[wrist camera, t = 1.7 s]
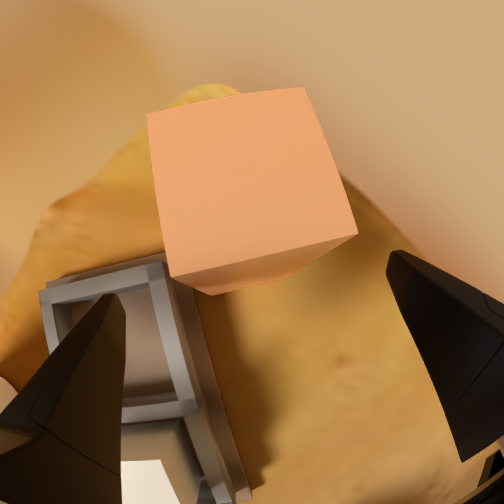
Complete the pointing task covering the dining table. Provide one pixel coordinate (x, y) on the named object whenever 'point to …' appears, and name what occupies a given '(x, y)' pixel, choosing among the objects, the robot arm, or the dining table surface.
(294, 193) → the jaw tall
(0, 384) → the beverage can
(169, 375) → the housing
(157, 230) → the dining table surface
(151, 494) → the cream white block
